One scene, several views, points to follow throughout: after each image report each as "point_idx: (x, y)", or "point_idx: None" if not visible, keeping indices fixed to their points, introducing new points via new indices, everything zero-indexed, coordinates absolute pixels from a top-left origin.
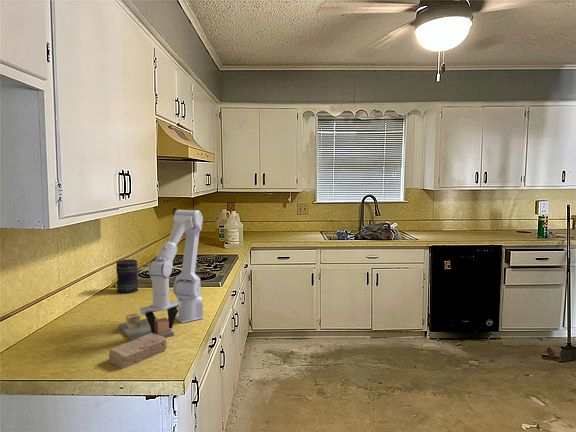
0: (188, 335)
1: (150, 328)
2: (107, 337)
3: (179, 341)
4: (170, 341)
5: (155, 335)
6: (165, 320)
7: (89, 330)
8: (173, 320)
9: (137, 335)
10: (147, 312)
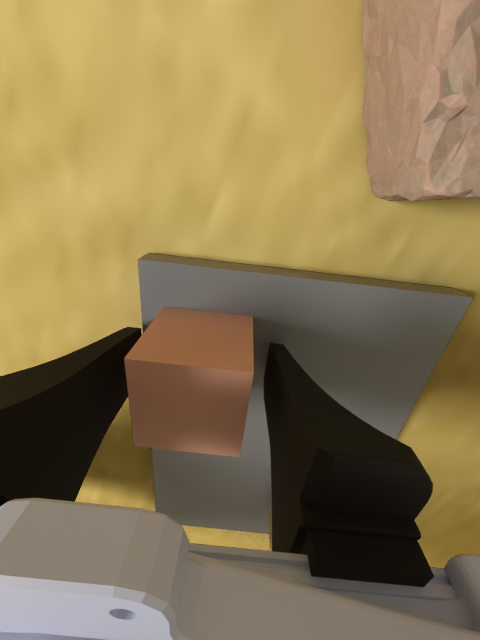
0: (33, 172)
1: (248, 423)
2: (455, 466)
3: (145, 78)
4: (215, 148)
5: (476, 42)
6: (154, 384)
7: (439, 550)
8: (72, 355)
9: (376, 378)
10: (405, 581)
